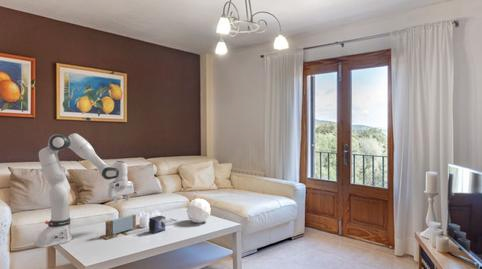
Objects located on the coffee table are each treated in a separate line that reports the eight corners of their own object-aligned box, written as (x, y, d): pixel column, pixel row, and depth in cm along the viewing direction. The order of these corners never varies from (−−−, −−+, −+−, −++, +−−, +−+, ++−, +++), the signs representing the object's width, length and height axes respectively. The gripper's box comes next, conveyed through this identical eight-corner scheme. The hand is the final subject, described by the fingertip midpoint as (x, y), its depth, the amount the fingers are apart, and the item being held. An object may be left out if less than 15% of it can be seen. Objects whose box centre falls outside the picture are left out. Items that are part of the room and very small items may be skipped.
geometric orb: (203, 231, 267) (207, 215, 256) (180, 221, 270) (184, 205, 258) (212, 215, 282) (216, 199, 271) (191, 205, 285) (194, 189, 274)
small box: (154, 234, 239) (154, 219, 239) (148, 232, 243) (148, 218, 243) (165, 230, 248) (165, 216, 248) (160, 228, 252) (160, 215, 252)
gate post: (107, 239, 227) (107, 223, 227) (100, 237, 231) (100, 221, 231) (117, 236, 234) (117, 221, 233) (110, 234, 238) (110, 219, 238)
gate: (113, 234, 234) (113, 220, 234) (110, 233, 235) (110, 220, 235) (135, 227, 250) (135, 214, 250) (133, 226, 251) (133, 214, 251)
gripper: (130, 180, 256) (130, 198, 257) (106, 184, 239) (106, 203, 240) (135, 181, 253) (135, 199, 253) (112, 185, 236) (112, 204, 236)
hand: (121, 201), depth 246 cm, fingers open, 8 cm apart
